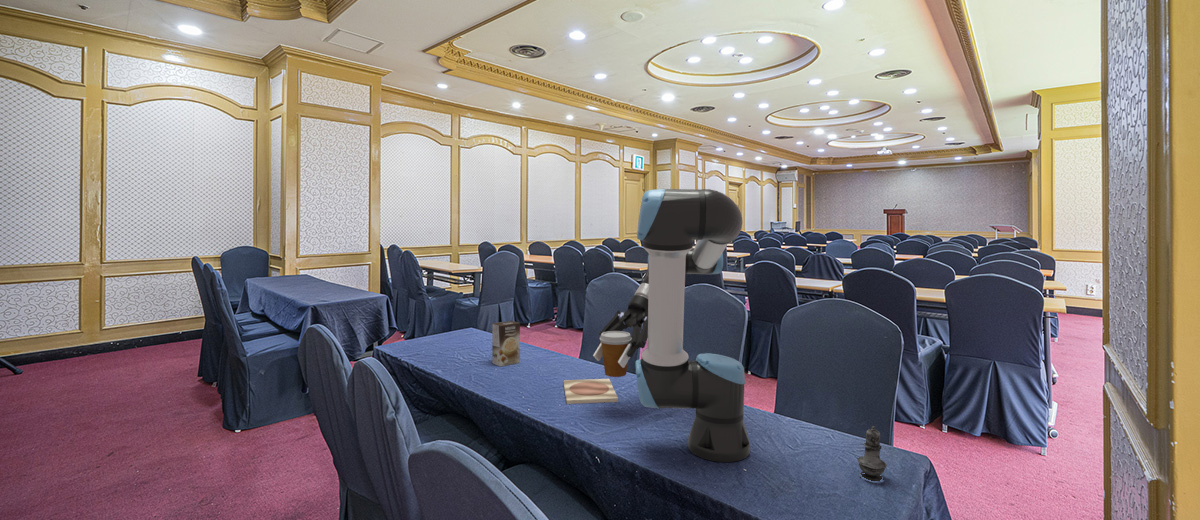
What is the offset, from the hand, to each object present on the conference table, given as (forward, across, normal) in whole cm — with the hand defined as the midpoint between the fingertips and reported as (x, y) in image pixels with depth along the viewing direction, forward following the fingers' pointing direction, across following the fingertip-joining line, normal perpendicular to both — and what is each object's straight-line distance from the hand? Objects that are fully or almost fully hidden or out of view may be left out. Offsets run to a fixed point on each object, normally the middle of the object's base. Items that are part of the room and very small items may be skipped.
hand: (608, 361), depth 156 cm
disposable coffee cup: (+1, 0, -6) cm, 6 cm away
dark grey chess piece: (+1, -68, -22) cm, 71 cm away
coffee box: (+4, +66, -18) cm, 68 cm away
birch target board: (+4, +18, -18) cm, 26 cm away
